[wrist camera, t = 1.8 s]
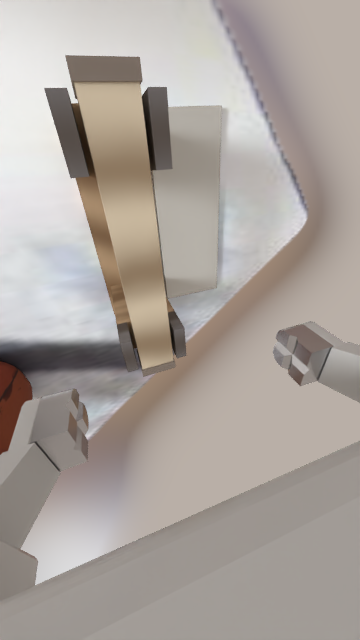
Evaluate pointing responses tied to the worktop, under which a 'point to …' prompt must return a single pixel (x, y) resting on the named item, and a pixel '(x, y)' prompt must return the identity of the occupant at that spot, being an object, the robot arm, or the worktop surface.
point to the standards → (83, 171)
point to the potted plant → (11, 401)
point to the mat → (190, 200)
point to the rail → (126, 193)
